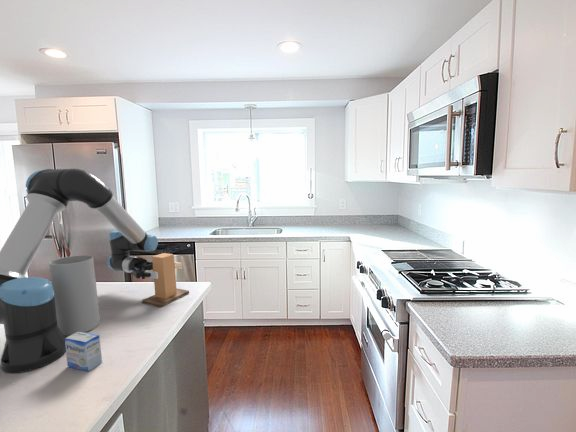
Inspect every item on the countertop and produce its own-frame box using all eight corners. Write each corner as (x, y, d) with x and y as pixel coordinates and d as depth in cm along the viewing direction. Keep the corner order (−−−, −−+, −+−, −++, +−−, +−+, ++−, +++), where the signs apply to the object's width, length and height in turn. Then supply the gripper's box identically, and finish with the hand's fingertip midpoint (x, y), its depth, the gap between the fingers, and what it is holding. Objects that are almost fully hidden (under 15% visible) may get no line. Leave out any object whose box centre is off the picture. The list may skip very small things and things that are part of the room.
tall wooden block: (176, 293, 133) (173, 254, 131) (165, 298, 128) (162, 257, 126) (166, 291, 136) (163, 253, 134) (155, 296, 130) (152, 256, 128)
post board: (161, 307, 122) (159, 287, 121) (142, 302, 127) (140, 284, 126) (189, 293, 137) (187, 275, 136) (171, 289, 141) (170, 273, 140)
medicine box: (67, 367, 84) (63, 338, 83) (82, 358, 88) (78, 330, 87) (88, 372, 82) (85, 342, 81) (102, 362, 86) (99, 334, 85)
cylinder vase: (105, 317, 114) (98, 254, 111) (91, 334, 102) (84, 263, 99) (68, 322, 112) (60, 256, 109) (49, 339, 99) (40, 266, 96)
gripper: (158, 265, 150) (190, 270, 141) (110, 282, 127) (146, 289, 118) (156, 250, 148) (189, 254, 140) (109, 265, 126) (144, 270, 117)
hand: (169, 270), depth 129 cm, fingers open, 13 cm apart
